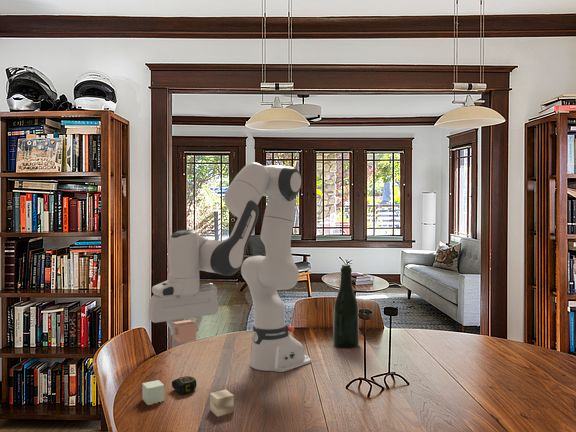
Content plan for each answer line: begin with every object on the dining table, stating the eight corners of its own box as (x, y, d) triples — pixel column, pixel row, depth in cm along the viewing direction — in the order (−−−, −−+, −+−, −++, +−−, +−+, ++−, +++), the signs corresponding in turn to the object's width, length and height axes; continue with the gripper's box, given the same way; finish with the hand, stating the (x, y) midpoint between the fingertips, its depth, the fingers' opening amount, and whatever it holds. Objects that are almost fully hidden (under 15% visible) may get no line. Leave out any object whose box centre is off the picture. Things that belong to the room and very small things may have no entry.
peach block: (189, 336, 148) (189, 319, 148) (196, 340, 144) (195, 323, 144) (173, 338, 145) (173, 322, 145) (179, 343, 141) (179, 325, 141)
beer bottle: (341, 339, 210) (341, 262, 208) (363, 344, 203) (363, 264, 202) (328, 346, 201) (328, 265, 200) (351, 350, 195) (351, 267, 194)
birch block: (226, 406, 144) (226, 389, 144) (233, 412, 140) (233, 395, 140) (210, 410, 141) (210, 393, 141) (217, 416, 137) (217, 399, 137)
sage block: (158, 395, 152) (158, 379, 152) (164, 401, 148) (164, 385, 147) (142, 399, 149) (142, 383, 149) (147, 405, 145) (147, 388, 145)
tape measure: (170, 390, 156) (170, 378, 156) (191, 385, 160) (191, 373, 160) (179, 397, 151) (178, 385, 151) (200, 392, 155) (199, 380, 154)
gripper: (212, 281, 152) (213, 325, 153) (146, 287, 141) (147, 335, 142) (221, 284, 147) (221, 330, 147) (153, 291, 136) (153, 341, 136)
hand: (184, 333), depth 144 cm, fingers closed on peach block, 5 cm apart
